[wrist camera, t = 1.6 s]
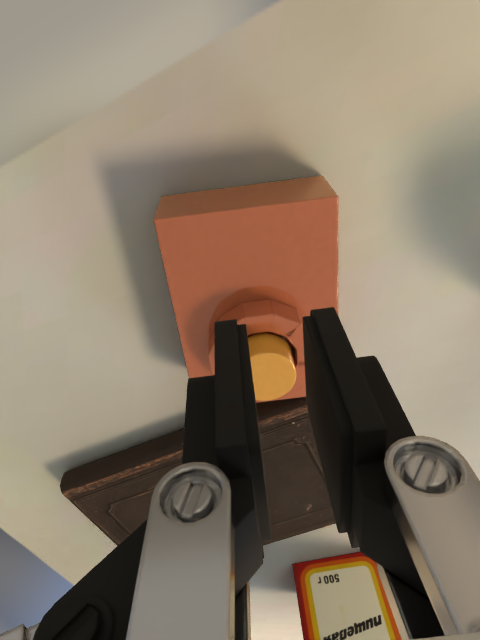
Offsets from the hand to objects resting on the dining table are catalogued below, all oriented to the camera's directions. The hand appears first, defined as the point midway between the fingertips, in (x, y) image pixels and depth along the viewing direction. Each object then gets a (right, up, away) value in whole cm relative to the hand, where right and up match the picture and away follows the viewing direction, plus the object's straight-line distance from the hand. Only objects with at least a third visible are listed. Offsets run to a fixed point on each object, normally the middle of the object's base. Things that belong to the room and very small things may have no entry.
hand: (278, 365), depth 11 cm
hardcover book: (-3, -14, +31) cm, 34 cm away
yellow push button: (0, -1, +17) cm, 17 cm away
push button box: (0, +3, +20) cm, 21 cm away
